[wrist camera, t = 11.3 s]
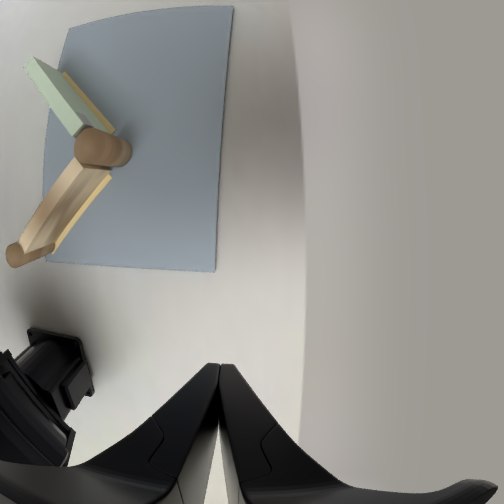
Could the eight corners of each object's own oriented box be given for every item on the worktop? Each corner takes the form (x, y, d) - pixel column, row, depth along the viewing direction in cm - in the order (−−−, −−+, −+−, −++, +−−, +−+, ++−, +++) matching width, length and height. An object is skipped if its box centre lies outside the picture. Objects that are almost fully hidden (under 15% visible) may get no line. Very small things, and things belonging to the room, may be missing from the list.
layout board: (46, 259, 19) (42, 261, 19) (69, 32, 15) (65, 29, 14) (215, 270, 20) (214, 272, 20) (233, 9, 16) (233, 5, 15)
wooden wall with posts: (53, 255, 19) (15, 273, 14) (40, 237, 19) (0, 251, 14) (140, 153, 18) (110, 143, 13) (124, 134, 18) (90, 120, 13)
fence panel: (111, 133, 17) (83, 123, 13) (100, 144, 17) (71, 137, 13) (60, 71, 15) (33, 55, 11) (51, 81, 15) (23, 68, 11)
